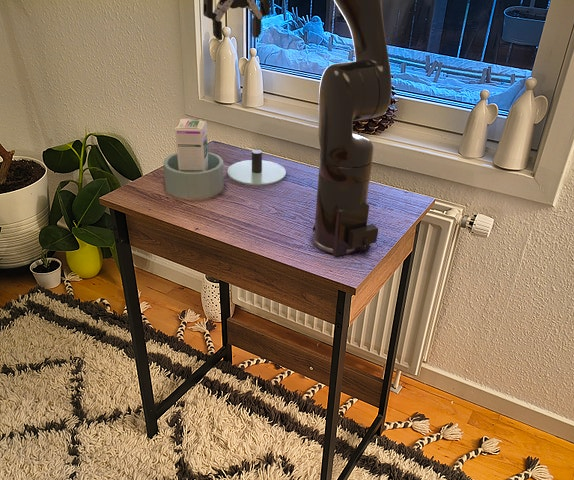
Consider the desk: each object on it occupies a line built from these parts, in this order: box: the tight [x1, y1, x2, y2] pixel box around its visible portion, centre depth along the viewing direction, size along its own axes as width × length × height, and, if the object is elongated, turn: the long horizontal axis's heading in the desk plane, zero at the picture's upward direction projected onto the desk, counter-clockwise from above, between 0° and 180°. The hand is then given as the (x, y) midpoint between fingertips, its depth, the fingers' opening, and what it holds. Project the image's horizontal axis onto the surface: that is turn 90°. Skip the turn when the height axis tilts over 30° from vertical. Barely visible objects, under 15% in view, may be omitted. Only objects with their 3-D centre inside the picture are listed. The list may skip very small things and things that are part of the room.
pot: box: [163, 151, 225, 200], centre depth 127 cm, size 13×13×6 cm
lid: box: [227, 149, 287, 187], centre depth 134 cm, size 14×14×6 cm
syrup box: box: [174, 118, 209, 172], centre depth 124 cm, size 6×6×14 cm
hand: (237, 38), depth 126 cm, fingers open, 8 cm apart
